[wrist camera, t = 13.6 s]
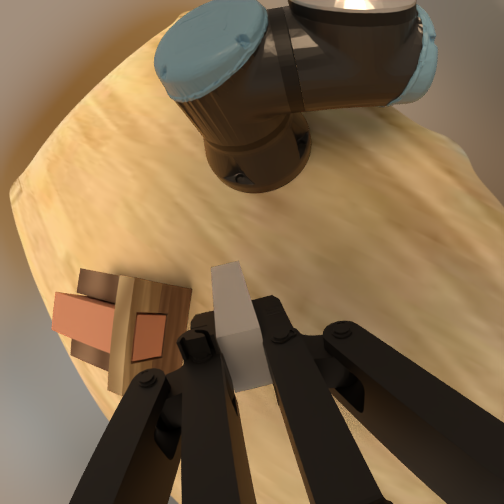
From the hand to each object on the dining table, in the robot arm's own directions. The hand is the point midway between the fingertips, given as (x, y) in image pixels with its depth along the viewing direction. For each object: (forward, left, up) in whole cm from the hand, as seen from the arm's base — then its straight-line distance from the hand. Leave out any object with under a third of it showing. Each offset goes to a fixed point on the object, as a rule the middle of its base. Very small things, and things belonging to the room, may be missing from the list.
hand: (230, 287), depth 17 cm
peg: (+20, -6, -17) cm, 27 cm away
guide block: (+20, -6, -23) cm, 31 cm away
